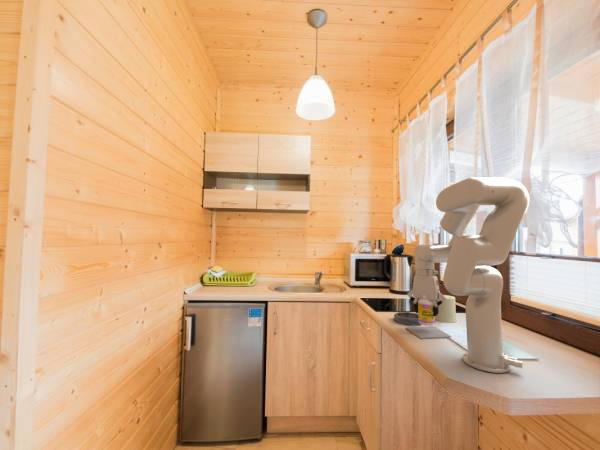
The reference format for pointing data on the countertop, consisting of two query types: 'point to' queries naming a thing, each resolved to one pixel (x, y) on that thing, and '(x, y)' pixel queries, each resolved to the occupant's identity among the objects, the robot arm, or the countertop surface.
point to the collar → (407, 318)
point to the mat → (428, 332)
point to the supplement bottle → (426, 312)
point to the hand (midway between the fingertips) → (426, 313)
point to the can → (447, 310)
